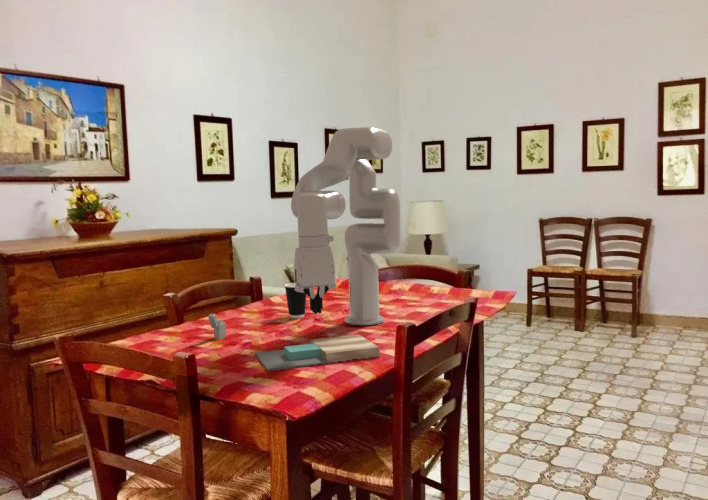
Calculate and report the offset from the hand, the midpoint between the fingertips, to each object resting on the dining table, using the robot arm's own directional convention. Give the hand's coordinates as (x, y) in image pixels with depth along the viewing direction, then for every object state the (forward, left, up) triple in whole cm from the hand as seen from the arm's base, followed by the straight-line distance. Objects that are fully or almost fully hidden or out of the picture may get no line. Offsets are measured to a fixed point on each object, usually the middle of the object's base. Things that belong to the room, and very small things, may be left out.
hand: (316, 312), depth 158 cm
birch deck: (+1, +7, -11) cm, 13 cm away
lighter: (-29, -22, -12) cm, 38 cm away
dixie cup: (-49, +7, -12) cm, 51 cm away
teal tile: (0, -4, -11) cm, 12 cm away
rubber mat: (+1, -8, -11) cm, 14 cm away
